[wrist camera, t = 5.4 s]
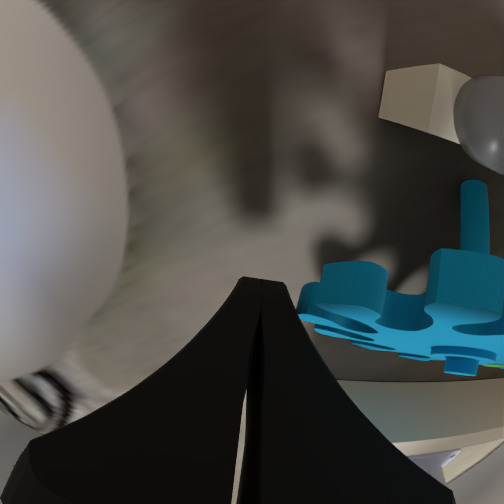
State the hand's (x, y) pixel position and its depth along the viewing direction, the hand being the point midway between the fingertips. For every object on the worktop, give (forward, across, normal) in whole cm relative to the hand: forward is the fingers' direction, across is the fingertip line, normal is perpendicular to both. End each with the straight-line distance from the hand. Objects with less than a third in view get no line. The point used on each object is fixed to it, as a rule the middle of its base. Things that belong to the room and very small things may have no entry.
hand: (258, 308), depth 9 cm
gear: (+3, -6, -1) cm, 7 cm away
